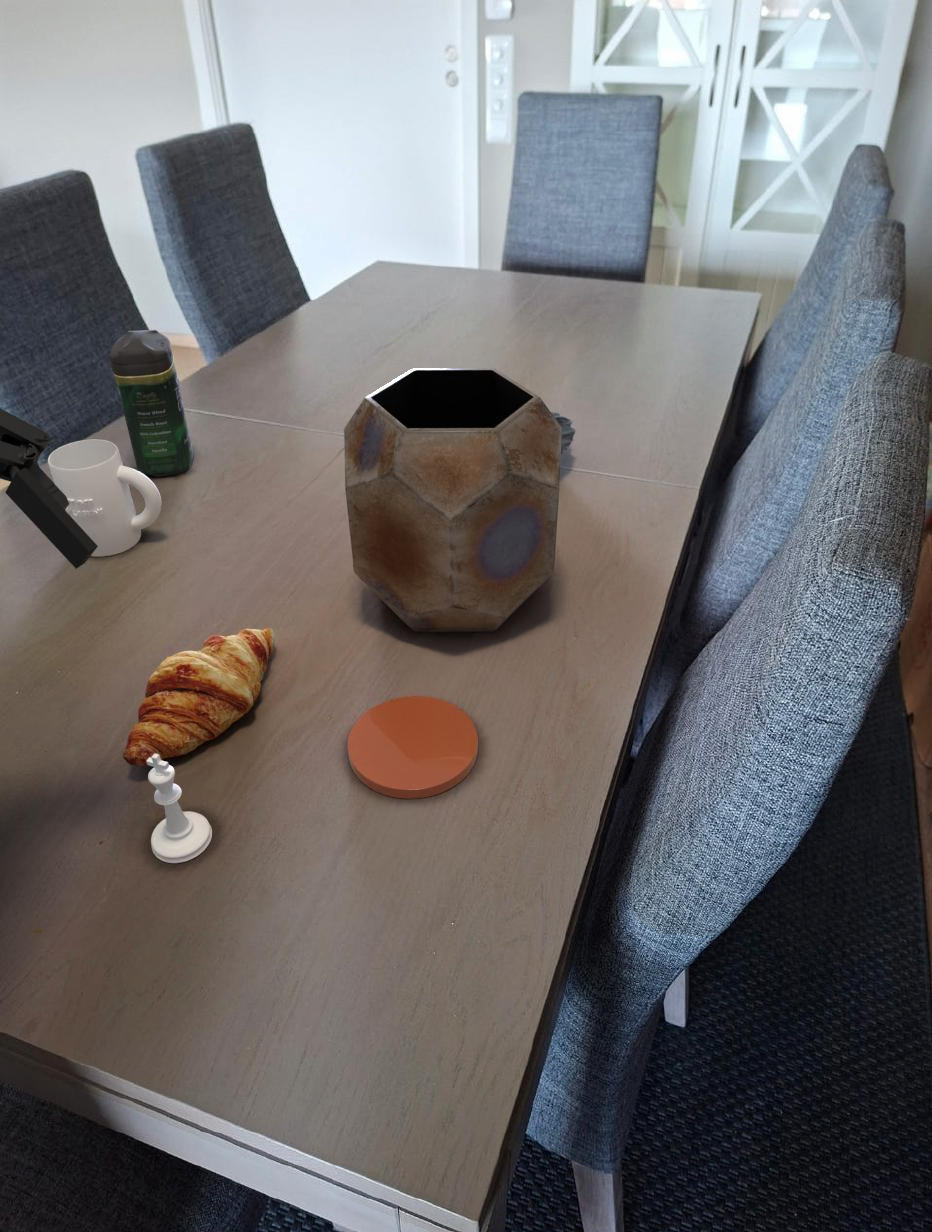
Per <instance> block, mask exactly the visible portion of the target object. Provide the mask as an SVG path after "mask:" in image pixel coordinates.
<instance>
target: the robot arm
mask: <svg viewBox="0 0 932 1232" xmlns="http://www.w3.org/2000/svg"><path fill="white" fill-rule="evenodd" d="M50 440H51V439H50V435H48V433H47V432H45V431H44V430H42V429H40V428H38V427H37V426H34V425H32V424H31V423H29V422H28V421H25V420H24V419H21V418H20V417H18V416H16V415H13V414H12V413H10V412H8V411H6V410H5V409H2V408H1V407H0V480H3V481H7V482H10V483H9V485H8V486H7V488H6V490H5V491H4V493H5V494H6V495H7V496H8V498H9V499H10V500H11V501H12V502H13V503H14V504H15V506H17V507H18V509H19V510H21V512H23V514H24V515H25V516H26V517H27V518H28V519H29V520H30V521H31V522H32V524H34V525H35V527H36V528H37V530H39V531H40V532H41V533H42V534H43V535H44V536H45V538H46V539H47V540H48V541H50V543H51V544H52V545H53V546H54V547H55V548H56V549H57V550H58V552H59V553H60V554H62V556H63V557H64V558H65V559H66V560H67V561H68V562H69V563H70V564H71V566H73V568H74V569H75V570H78V568H80V567H82V566H83V565H84V564H86V563H87V562H88V560H89V559H90V558H91V557H92V556H91V555H92V553H93V552H94V551H95V549H96V548H97V547H98V546H97V545H96V543H95V542H94V541H93V540H92V539H91V538H90V537H89V536H88V535H87V534H86V533H85V531H84V530H83V529H82V528H81V527H80V526H79V525H78V524H77V523H76V522H75V521H74V519H73V518H72V517H71V516H70V515H69V514H68V513H67V512H66V511H65V510H66V508H67V507H68V505H69V502H68V499H67V497H66V496H65V495H64V493H63V492H62V491H61V490H59V488H58V487H57V486H56V485H55V483H54V480H53V479H51V478H50V477H49V476H48V474H46V472H45V471H44V470H43V469H42V468H41V467H40V465H39V463H38V462H39V461H40V459H41V458H42V456H43V454H44V452H45V450H46V449H47V447H48V445H49V443H50Z"/></svg>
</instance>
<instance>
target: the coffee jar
mask: <svg viewBox="0 0 932 1232" xmlns="http://www.w3.org/2000/svg"><path fill="white" fill-rule="evenodd" d="M172 349H173V348H172V346H171V341H170V339H169V338H168V337H167V336H166V335H164V334H163V333H161V332H159V331H158V330H157V329H143V330H141V329H140V330H128V331H127V332H125V334H124V335H122V336H121V337H119V338H118V339H117V340H116V341H115V342H114V344H113V345H112V347H111V349H110V352H109V356H108V357H109V360H110V365H111V371H112V374H113V377H114V381H115V384H116V388H117V391H118V395H119V399H120V403H121V408H122V411H123V415H124V420H125V423H126V427H127V432H128V435H129V440H130V445H131V449H132V453H133V457H134V462H135V465H136V470H137V471H139V472H141V473H142V474H144V475H146V476H155V477H168V476H171V475H173V474H177V473H180V472H184V471H186V470H188V468H189V467H190V466H191V463H192V461H193V457H194V449H193V444H192V440H191V435H190V429H189V426H188V421H187V417H186V416H187V415H186V412H185V407H184V402H183V397H182V392H181V387H180V383H179V378H178V377H179V376H178V372H177V368H176V362H175V357H174V353H173V350H172Z"/></svg>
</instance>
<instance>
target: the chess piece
mask: <svg viewBox="0 0 932 1232" xmlns="http://www.w3.org/2000/svg"><path fill="white" fill-rule="evenodd" d="M146 762H147V765H146V766H149V767H153V768H151V769H150V771H149V772H148V775H147V779H148V782H149V783H150V784H151V785H152V786H154V787H155V788H156V790H155V791H154V794H153V800H154V802H155V803H156V804H158V805H159V806H163V807H164V814H165V818H164V819H162V820H161V821H159V823H158V824H157V825H156V826H155V827H154V829H153V831H152V833H151V837H150V845H151V850H152V853H153V855H154V856H155V857H156V858H157V859H158V860H160V861H162V862H165V863H168V864H179V863H180V864H181V863H184V862H185V863H186V862H188V861H191V860H192V859H194V858H196V857H198V856H199V855H201V854H202V853H203V852H204V851H205V850H206V849H207V848H208V846H209V845H210V843H211V841H212V837H213V829H212V825H211V824H210V823H209V821H208V819H207V818H206V817H205V816H204V815H203V814H201V813H199V812H196V811H183V809H182V807H181V806H180V804H179V802H178V800H180V798H181V797H182V792H183V791H182V788H181V786H179V785H178V784H176V783H174V781H175V777H176V776H175V775H176V770H175V769H174V767H173V766H172V765H170V764H169V761H164V760H163V759H162V760H161V758H160V755H159V754H155V753H154V755H153V756H152V757H149V758H148V760H147V761H146Z"/></svg>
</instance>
